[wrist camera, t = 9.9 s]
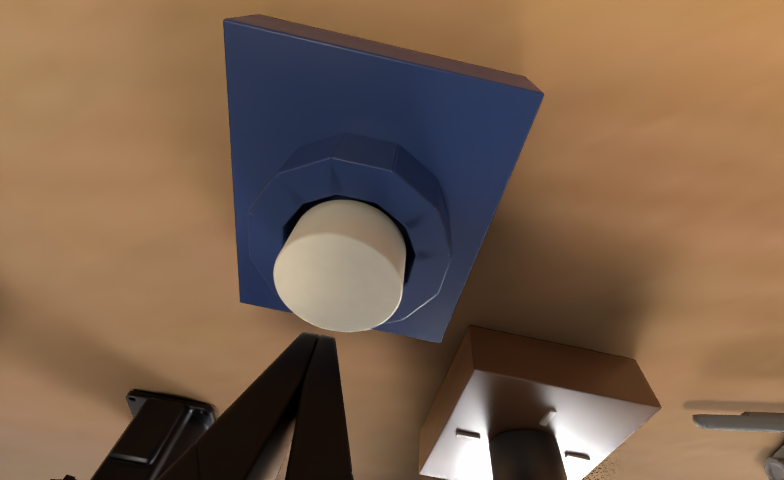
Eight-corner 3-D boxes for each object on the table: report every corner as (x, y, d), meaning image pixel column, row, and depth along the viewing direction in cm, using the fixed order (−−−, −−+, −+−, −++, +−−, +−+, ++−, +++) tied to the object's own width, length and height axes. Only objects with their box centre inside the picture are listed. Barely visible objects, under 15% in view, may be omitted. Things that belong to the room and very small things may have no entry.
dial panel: (546, 456, 28) (558, 503, 25) (419, 431, 28) (418, 476, 25) (635, 359, 21) (664, 410, 19) (469, 324, 21) (474, 372, 18)
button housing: (439, 305, 20) (441, 385, 16) (260, 268, 20) (216, 340, 16) (526, 76, 13) (569, 113, 9) (257, 13, 13) (177, 23, 9)
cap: (394, 301, 14) (388, 343, 12) (291, 279, 14) (271, 319, 12) (418, 213, 12) (416, 250, 10) (295, 186, 12) (272, 219, 10)
